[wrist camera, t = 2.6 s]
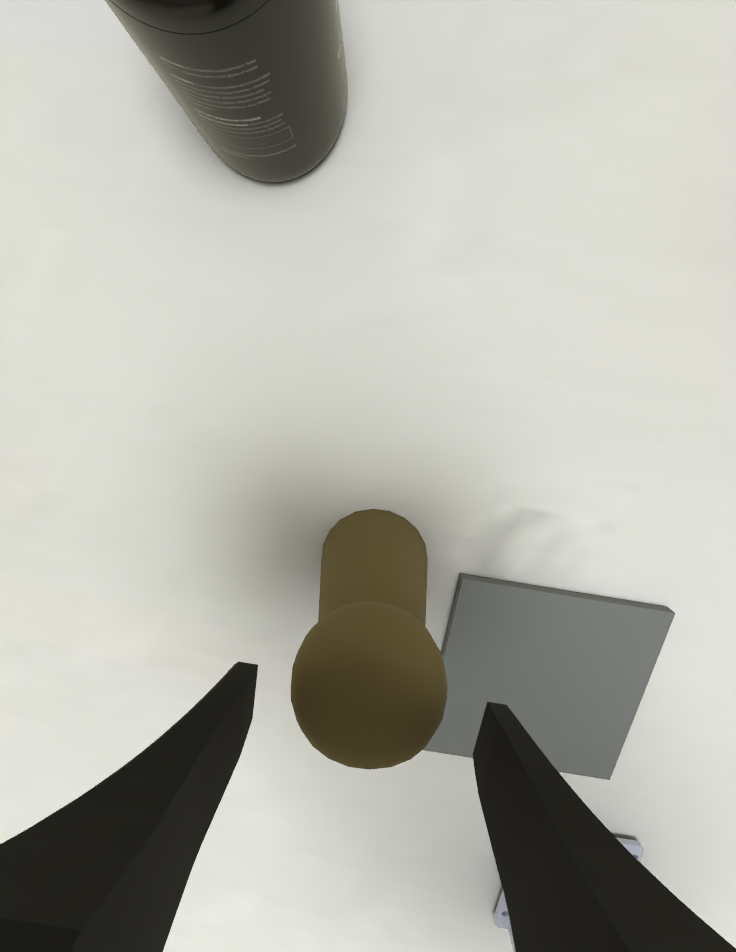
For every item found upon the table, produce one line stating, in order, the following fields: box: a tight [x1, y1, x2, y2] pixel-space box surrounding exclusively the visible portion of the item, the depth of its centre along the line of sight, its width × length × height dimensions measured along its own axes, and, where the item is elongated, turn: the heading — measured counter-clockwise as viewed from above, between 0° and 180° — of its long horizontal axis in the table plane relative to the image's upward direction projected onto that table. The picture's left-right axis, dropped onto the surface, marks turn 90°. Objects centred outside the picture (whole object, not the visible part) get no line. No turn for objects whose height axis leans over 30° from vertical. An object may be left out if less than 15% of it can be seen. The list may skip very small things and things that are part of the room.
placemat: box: [423, 574, 675, 780], centre depth 23 cm, size 12×12×1 cm
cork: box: [291, 509, 448, 769], centre depth 17 cm, size 6×6×11 cm
